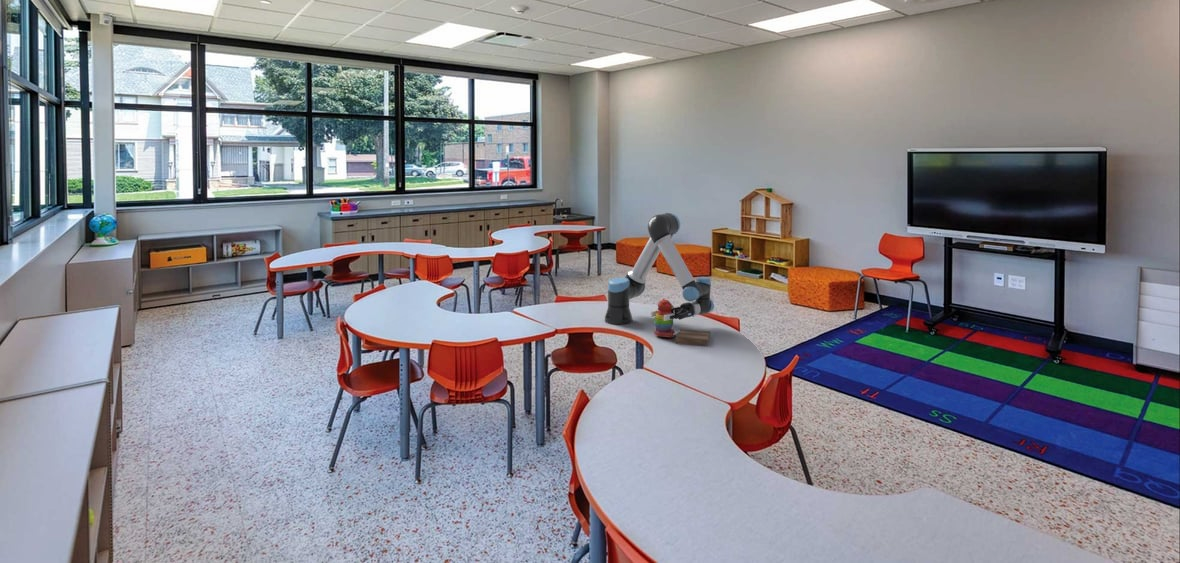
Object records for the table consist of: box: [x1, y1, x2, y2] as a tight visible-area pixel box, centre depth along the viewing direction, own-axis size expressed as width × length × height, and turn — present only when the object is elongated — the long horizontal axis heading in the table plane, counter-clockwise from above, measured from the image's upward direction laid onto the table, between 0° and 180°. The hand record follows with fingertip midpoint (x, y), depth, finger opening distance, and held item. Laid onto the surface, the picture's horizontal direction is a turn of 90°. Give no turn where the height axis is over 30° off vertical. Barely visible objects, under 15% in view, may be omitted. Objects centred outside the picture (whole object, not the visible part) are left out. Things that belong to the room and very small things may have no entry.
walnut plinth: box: [675, 328, 711, 347], centre depth 300 cm, size 15×15×3 cm
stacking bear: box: [653, 298, 675, 338], centre depth 305 cm, size 11×10×18 cm
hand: (657, 316), depth 302 cm, fingers closed on stacking bear, 9 cm apart
